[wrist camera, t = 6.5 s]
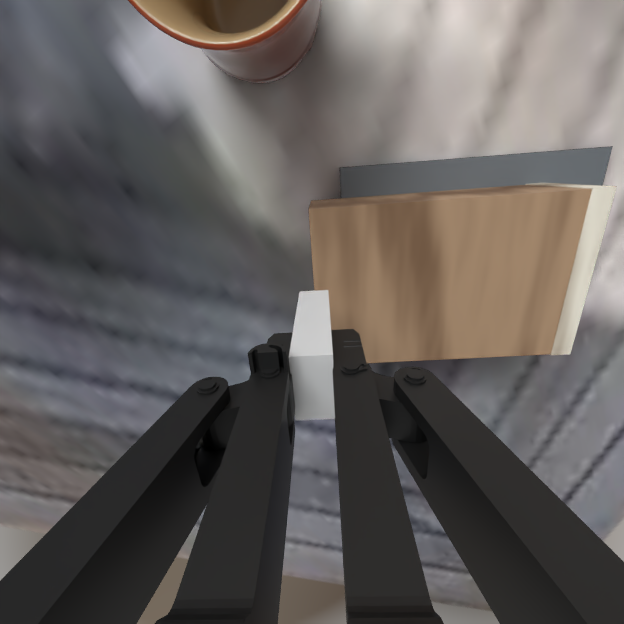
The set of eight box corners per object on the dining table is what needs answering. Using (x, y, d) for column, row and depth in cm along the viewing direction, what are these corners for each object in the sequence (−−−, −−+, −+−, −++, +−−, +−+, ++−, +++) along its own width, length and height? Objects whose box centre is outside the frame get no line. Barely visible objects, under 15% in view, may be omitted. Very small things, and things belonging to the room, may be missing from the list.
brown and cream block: (319, 366, 22) (570, 354, 21) (308, 208, 18) (616, 186, 17) (319, 326, 27) (517, 315, 27) (311, 199, 23) (543, 182, 23)
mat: (345, 320, 28) (345, 324, 27) (339, 167, 23) (340, 167, 22) (562, 308, 27) (569, 312, 26) (602, 147, 22) (612, 146, 22)
